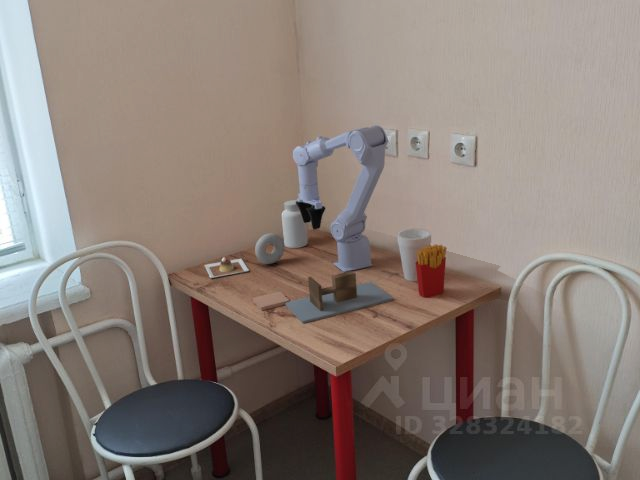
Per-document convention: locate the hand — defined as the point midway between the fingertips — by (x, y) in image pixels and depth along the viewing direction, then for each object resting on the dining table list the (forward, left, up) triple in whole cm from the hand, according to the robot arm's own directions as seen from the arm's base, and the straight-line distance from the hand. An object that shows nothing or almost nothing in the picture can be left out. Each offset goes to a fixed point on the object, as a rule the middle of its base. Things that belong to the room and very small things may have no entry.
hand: (311, 225), depth 205 cm
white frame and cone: (+28, -5, -11) cm, 30 cm away
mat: (+8, +36, -10) cm, 38 cm away
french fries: (-16, +44, -11) cm, 48 cm away
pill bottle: (+1, -14, -11) cm, 18 cm away
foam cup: (-18, +32, -11) cm, 38 cm away
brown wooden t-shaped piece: (+9, +36, -10) cm, 38 cm away
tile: (+20, +26, -10) cm, 34 cm away
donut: (+14, -2, -11) cm, 18 cm away
